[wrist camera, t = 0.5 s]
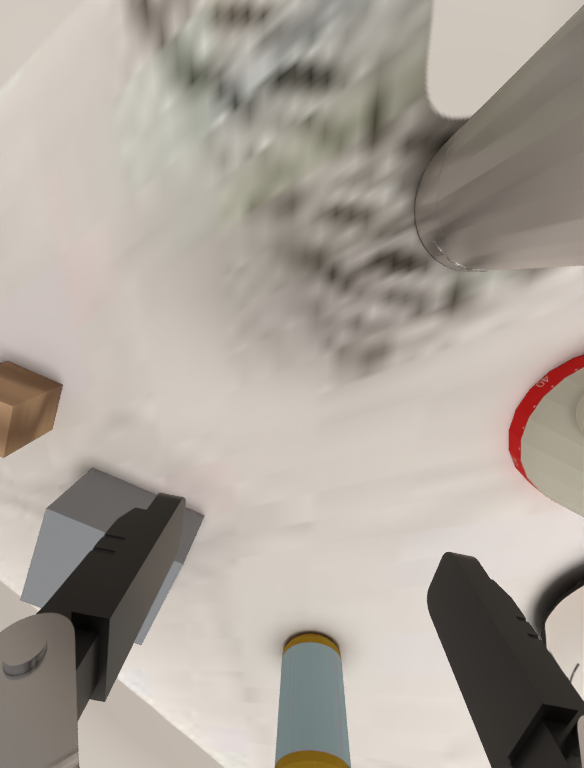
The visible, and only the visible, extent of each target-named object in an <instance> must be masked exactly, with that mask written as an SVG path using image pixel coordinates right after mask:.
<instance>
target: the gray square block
mask: <svg viewBox="0 0 584 768" xmlns="http://www.w3.org/2000/svg"><path fill="white" fill-rule="evenodd" d="M156 496H157V495H155V494H153V493H151V492H148V491H146V490H144V489H141V488H139V487H137V486H134V485H132V484H130V483H127V482H125V481H123V480H120V479H118V478H116V477H113V476H111V475H109V474H106V473H104V472H102V471H99V470H97V469H95V468H92V469H91V470H90V471H89V472H88V473H86V474H85V475H84V476H83V477H82V478H81V479H80V480H78V481H77V482H76V483H75V484H74V485H73V486H72V487H70V488H69V489H68V490H67V491H66V492H65V493H63V494H62V495H61V496H60V497H59V498H58V499H57V500H55V501H54V502H53V503H52V504H51V505H50V506H48V507H47V508H46V511H45V515H44V518H43V522H42V525H41V529H40V532H39V536H38V539H37V543H36V546H35V550H34V553H33V557H32V560H31V564H30V568H29V571H28V575H27V578H26V582H25V585H24V589H23V592H22V596H21V599H20V600H21V601H24V602H26V603H29V604H32V605H34V606H37V607H40V608H42V607H43V606H44V605H45V604H46V603H47V602H48V600H49V599H50V598H51V597H52V596H53V595H54V593H55V592H56V591H57V590H58V589H59V587H60V586H61V585H62V584H63V583H64V581H65V580H66V579H67V578H68V577H69V576H70V574H71V573H72V572H73V571H74V570H75V568H76V567H77V566H78V565H79V564H80V562H81V561H82V560H83V559H84V558H85V557H86V555H87V554H88V553H89V552H90V551H92V550H93V548H94V546H95V545H96V544H97V542H98V541H99V540H100V539H101V538H102V537H104V535H105V533H106V532H107V530H108V529H109V528H110V527H111V526H112V525H113V523H114V522H115V521H116V520H117V519H118V518H119V517H121V516H122V515H124V514H126V513H127V512H129V511H130V510H132V509H134V508H135V507H136V508H141V509H146V510H147V508H148V507H149V506H150V504H151V503H152V502H153V500H154V499H155V498H156ZM203 518H204V515H202V514H200V513H197V512H195V511H193V510H190V509H188V508H186V507H185V511H184V518H183V526H182V533H181V540H180V544H179V548H178V551H177V554H176V557H175V560H174V562H173V564H172V566H171V568H170V570H169V572H168V574H167V576H166V578H165V580H164V582H163V584H162V586H161V588H160V590H159V593H158V595H157V597H156V599H155V601H154V603H153V605H152V607H151V609H150V611H149V613H148V615H147V617H146V619H145V621H144V623H143V625H142V627H141V629H140V631H139V633H138V635H137V637H136V639H135V641H134V643H136V644H139V645H142V643H143V641H144V639H145V637H146V635H147V633H148V631H149V629H150V627H151V625H152V624H153V622H154V620H155V618H156V616H157V614H158V612H159V610H160V608H161V606H162V604H163V602H164V600H165V598H166V596H167V594H168V593H169V591H170V589H171V587H172V585H173V583H174V581H175V579H176V577H177V575H178V573H179V571H180V569H181V567H182V565H183V563H184V561H185V559H186V556H187V554H188V552H189V550H190V547H191V545H192V543H193V541H194V538H195V536H196V534H197V531H198V529H199V527H200V525H201V522H202V520H203Z"/></svg>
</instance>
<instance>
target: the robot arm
mask: <svg viewBox="0 0 584 768" xmlns="http://www.w3.org/2000/svg"><path fill="white" fill-rule="evenodd" d="M415 221H416V226H417V230H418V234H419V237H420V239H421V241H422V243H423V245H424V247H425V248H426V250H427V251H428V252H429V253H430V254H431V255H432V257H433V258H435V259H436V260H437V261H439V262H440V263H442V264H443V265H445V266H447V267H450V268H452V269H455V270H461V271H468V272H470V271H481V272H486V271H490V270H512V269H529V268H547V267H564V266H582V265H584V5H583V6H582V7H581V8H580V9H579V10H578V11H577V12H576V13H575V14H574V15H573V16H572V17H571V18H570V20H568V21H567V22H566V23H565V24H564V25H563V26H562V27H561V28H560V29H559V30H558V31H557V32H556V33H555V34H554V35H553V36H552V37H551V38H550V40H548V41H547V42H546V43H545V44H544V45H543V46H542V47H541V48H540V49H539V50H538V51H537V52H536V53H535V54H534V55H533V56H532V57H531V58H530V59H529V60H528V61H527V62H526V63H525V64H524V65H523V66H522V67H521V68H520V69H519V70H518V71H517V72H516V73H515V74H514V75H513V76H512V77H511V78H510V79H509V80H508V81H507V82H506V83H505V84H504V85H503V86H502V87H501V88H500V89H499V90H498V91H497V92H496V93H495V95H493V96H492V97H491V98H490V99H489V100H488V101H487V102H486V103H485V104H484V105H483V106H482V107H481V108H480V109H479V110H478V111H477V112H476V113H475V114H474V115H473V116H472V117H471V118H470V119H469V120H468V121H467V122H466V123H465V124H464V125H463V126H462V127H461V128H460V129H459V130H458V131H457V132H456V133H455V134H454V135H453V136H452V137H451V138H450V139H449V140H448V141H447V142H446V143H445V144H444V145H443V146H442V147H441V148H440V149H439V151H438V152H437V153H436V154H435V156H434V157H433V158H432V159H431V161H430V163H429V165H428V166H427V168H426V170H425V172H424V174H423V176H422V179H421V181H420V184H419V187H418V190H417V196H416V203H415ZM185 503H186V499H185V498H184V497H179V496H174V495H169V494H164V493H159V494H158V495H157V496H156V498H155V499H154V500H153V502H152V503H151V504H150V506H149V507H148V508H147V510H146V509H141V508H136V507H135V508H134V509H132V510H130V511H129V512H127V513H126V514H124V515H122V516H121V517H119V518H118V519H117V520H116V521H115V522H114V523H113V525H112V526H111V527H110V528H109V529H108V530H107V532H106V533H105V535H104V537H102V538H101V539H100V540H99V541H98V542H97V544H96V545H95V546H94V548H93V550H92V551H90V552H89V553H88V554H87V555H86V557H85V558H84V559H83V560H82V561H81V562H80V564H79V565H78V566H77V567H76V568H75V570H74V571H73V572H72V573H71V574H70V576H69V577H68V578H67V579H66V580H65V581H64V583H63V584H62V585H61V586H60V587H59V589H58V590H57V591H56V592H55V593H54V595H53V596H52V597H51V598H50V599H49V600H48V602H47V603H46V604H45V605H44V606H43V607H42V608H41V610H40V611H39V612H38V613H36V615H32V616H29V617H26V618H24V619H22V620H19V621H17V622H15V623H14V624H12V625H10V626H9V627H7V628H6V629H4V630H3V631H1V632H0V768H79V756H78V724H77V722H78V720H79V718H80V716H81V714H82V712H83V710H84V709H85V707H86V705H87V703H88V701H89V699H92V700H97V701H103V702H105V701H106V699H107V696H108V694H109V692H110V690H111V688H112V686H113V684H114V682H115V680H116V678H117V676H118V674H119V672H120V670H121V668H122V666H123V664H124V662H125V660H126V658H127V656H128V654H129V652H130V650H131V648H132V646H133V643H134V641H135V639H136V637H137V635H138V633H139V631H140V629H141V627H142V625H143V623H144V621H145V619H146V617H147V615H148V613H149V611H150V609H151V607H152V605H153V603H154V601H155V599H156V597H157V595H158V593H159V590H160V588H161V586H162V584H163V582H164V580H165V578H166V576H167V574H168V572H169V570H170V568H171V566H172V564H173V562H174V560H175V557H176V554H177V551H178V548H179V544H180V540H181V533H182V526H183V518H184V511H185ZM427 604H428V610H429V613H430V616H431V619H432V621H433V623H434V626H435V628H436V631H437V633H438V636H439V638H440V641H441V643H442V646H443V648H444V651H445V653H446V656H447V658H448V661H449V663H450V666H451V668H452V671H453V673H454V675H455V678H456V680H457V683H458V685H459V688H460V690H461V693H462V695H463V698H464V700H465V703H466V705H467V708H468V710H469V713H470V715H471V718H472V720H473V723H474V725H475V727H476V730H477V732H478V735H479V737H480V740H481V742H482V745H483V747H484V750H485V752H486V755H487V757H488V760H489V762H490V765H491V767H492V768H584V701H583V699H582V698H581V696H580V695H579V694H578V692H577V691H576V689H575V688H574V686H573V685H572V684H571V682H570V681H569V679H568V678H567V676H566V675H565V674H564V672H563V671H562V669H561V668H560V666H559V665H558V664H557V662H556V661H555V659H554V658H553V656H552V655H551V654H550V652H549V651H548V649H547V648H546V646H545V645H544V644H543V642H542V641H541V640H539V639H538V635H537V634H536V632H535V631H534V629H533V628H532V626H531V625H530V624H529V622H526V618H525V616H524V615H523V614H522V612H521V611H520V609H519V608H518V606H517V605H516V604H515V602H514V601H513V599H512V598H511V597H510V596H509V595H508V594H507V593H506V592H505V591H504V590H503V589H502V588H501V587H500V586H499V585H498V584H497V583H496V582H495V581H494V580H491V579H490V578H489V576H488V575H487V573H486V572H485V570H484V569H483V567H482V566H481V564H480V563H479V561H478V560H477V559H476V558H474V557H472V556H467V555H462V554H457V553H452V552H446V553H445V554H444V555H443V557H442V559H441V561H440V563H439V566H438V568H437V570H436V573H435V575H434V577H433V580H432V582H431V584H430V586H429V589H428V594H427Z"/></svg>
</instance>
